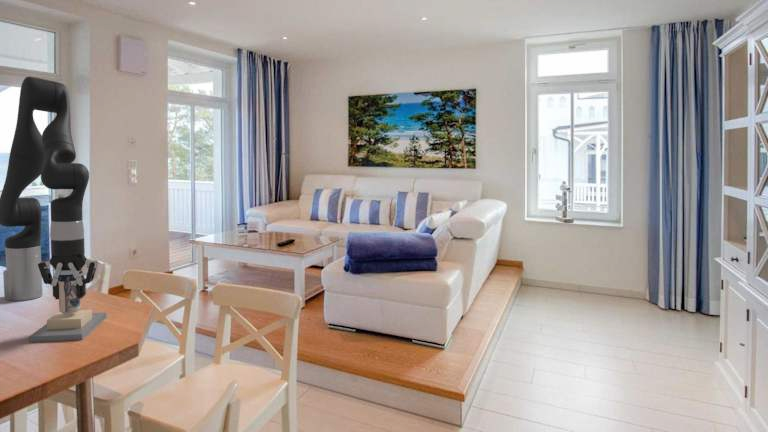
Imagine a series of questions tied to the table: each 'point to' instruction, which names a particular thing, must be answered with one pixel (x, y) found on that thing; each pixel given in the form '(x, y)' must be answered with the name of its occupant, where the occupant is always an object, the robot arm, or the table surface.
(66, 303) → the beer can
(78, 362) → the table surface
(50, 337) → the slate board
